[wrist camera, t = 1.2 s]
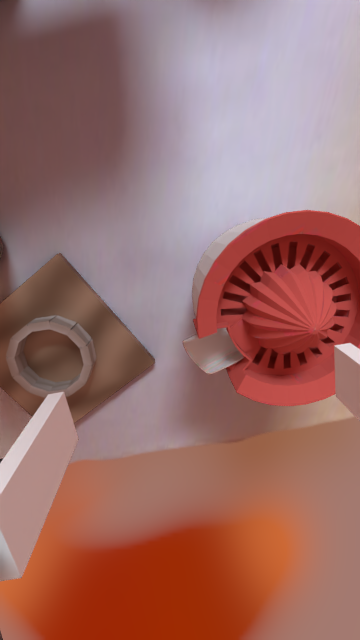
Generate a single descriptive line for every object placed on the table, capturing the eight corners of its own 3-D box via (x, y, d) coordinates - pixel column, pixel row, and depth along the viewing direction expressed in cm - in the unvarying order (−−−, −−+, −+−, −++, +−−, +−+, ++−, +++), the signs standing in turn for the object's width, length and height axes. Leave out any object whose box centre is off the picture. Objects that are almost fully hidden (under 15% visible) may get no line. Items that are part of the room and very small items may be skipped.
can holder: (-41, 340, 42) (-60, 351, 38) (60, 253, 39) (49, 255, 36) (58, 432, 46) (48, 449, 43) (154, 359, 43) (153, 371, 40)
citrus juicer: (149, 272, 40) (132, 315, 21) (269, 189, 38) (373, 152, 19) (215, 366, 44) (252, 475, 25) (328, 296, 42) (463, 356, 23)
